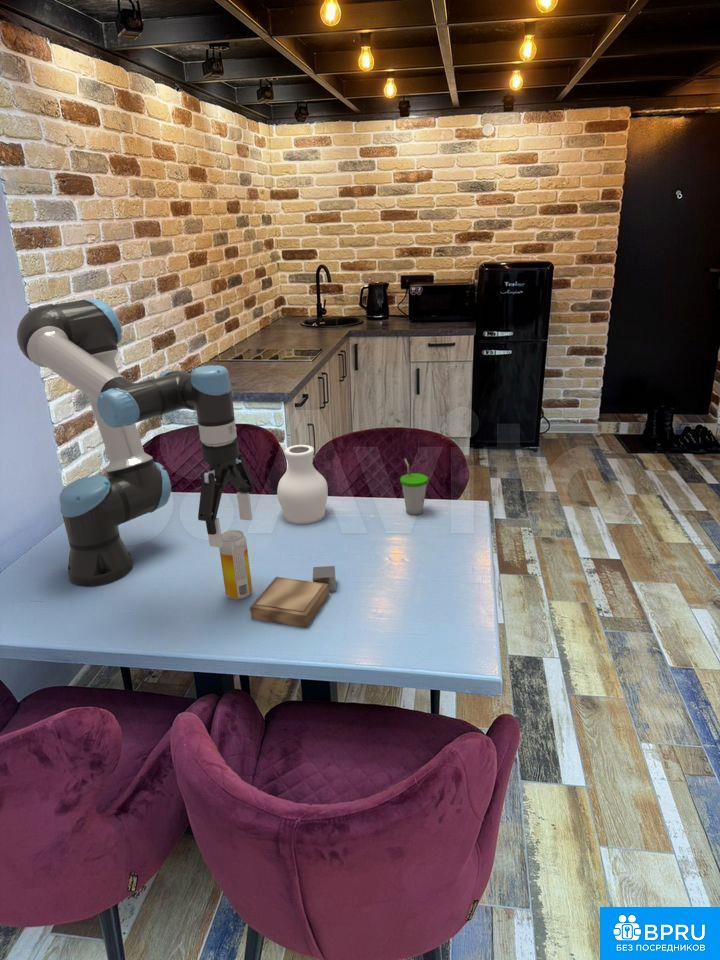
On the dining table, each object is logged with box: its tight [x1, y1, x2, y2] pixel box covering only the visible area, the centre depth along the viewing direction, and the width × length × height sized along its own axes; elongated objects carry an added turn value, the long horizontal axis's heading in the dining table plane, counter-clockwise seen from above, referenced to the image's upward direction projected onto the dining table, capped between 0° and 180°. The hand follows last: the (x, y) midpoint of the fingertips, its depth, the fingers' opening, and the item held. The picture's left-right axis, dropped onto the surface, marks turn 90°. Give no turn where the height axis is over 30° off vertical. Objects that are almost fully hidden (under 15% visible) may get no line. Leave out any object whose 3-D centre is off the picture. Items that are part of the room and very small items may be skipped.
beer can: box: [218, 529, 253, 600], centre depth 154 cm, size 6×6×15 cm
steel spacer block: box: [312, 565, 337, 593], centre depth 158 cm, size 5×5×4 cm
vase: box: [276, 444, 329, 525], centre depth 191 cm, size 14×14×20 cm
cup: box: [399, 458, 429, 517], centre depth 191 cm, size 8×8×15 cm
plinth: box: [249, 576, 330, 629], centre depth 150 cm, size 13×13×3 cm
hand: (232, 532), depth 151 cm, fingers open, 13 cm apart
